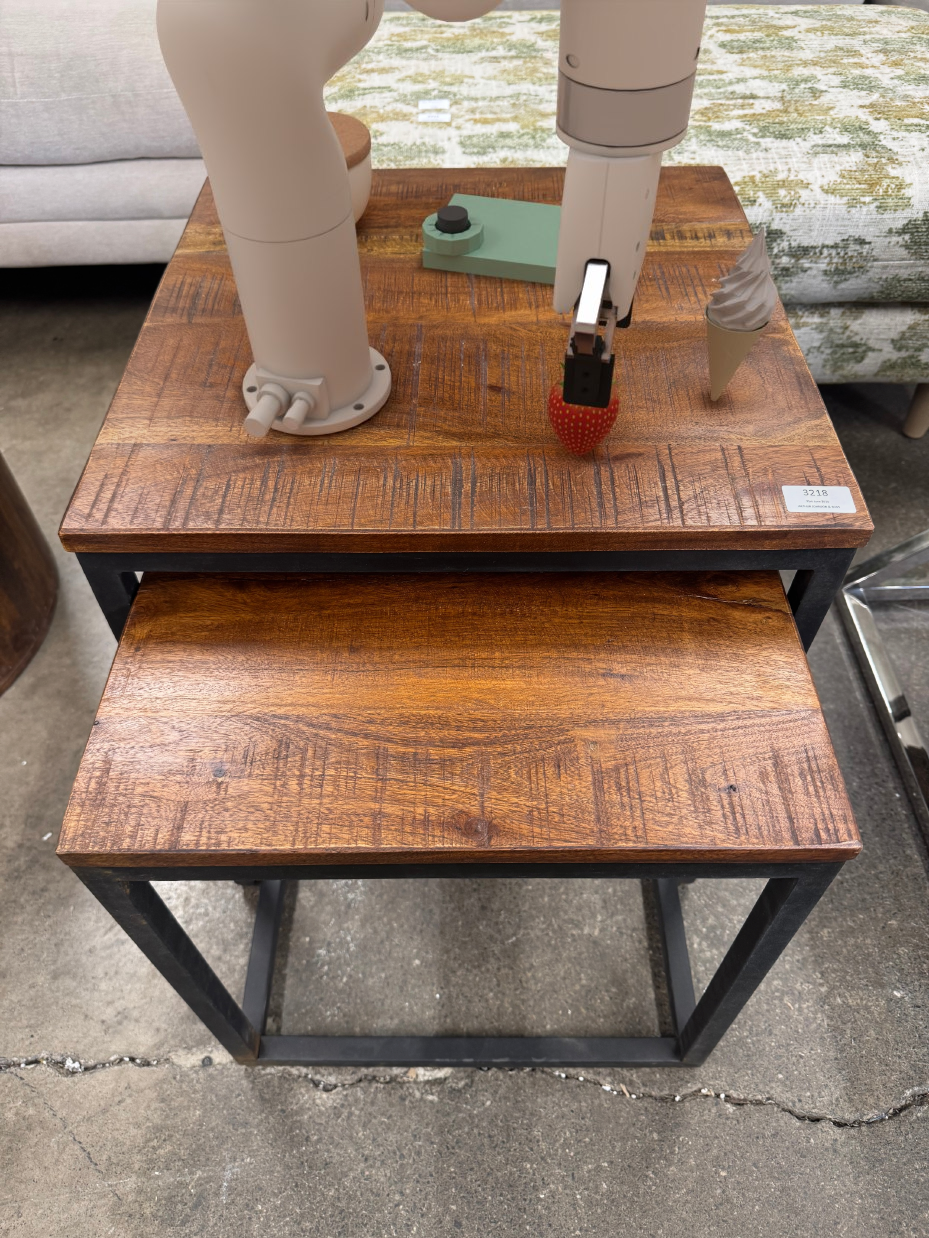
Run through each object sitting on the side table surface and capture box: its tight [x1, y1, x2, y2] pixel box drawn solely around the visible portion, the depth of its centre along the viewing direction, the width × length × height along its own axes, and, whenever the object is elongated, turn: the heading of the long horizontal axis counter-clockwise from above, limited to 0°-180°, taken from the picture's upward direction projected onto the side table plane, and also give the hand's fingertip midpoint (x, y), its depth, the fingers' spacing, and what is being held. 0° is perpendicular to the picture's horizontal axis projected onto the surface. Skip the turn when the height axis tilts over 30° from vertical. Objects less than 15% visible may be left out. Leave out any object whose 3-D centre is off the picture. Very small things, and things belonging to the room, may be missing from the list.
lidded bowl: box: [326, 110, 373, 225], centre depth 85 cm, size 13×13×11 cm
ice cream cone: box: [703, 225, 779, 402], centre depth 65 cm, size 5×5×15 cm
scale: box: [421, 193, 562, 286], centre depth 86 cm, size 12×14×4 cm
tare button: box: [436, 205, 468, 234], centre depth 83 cm, size 3×3×2 cm
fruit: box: [547, 361, 620, 456], centre depth 65 cm, size 5×5×8 cm
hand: (597, 362), depth 61 cm, fingers open, 9 cm apart
